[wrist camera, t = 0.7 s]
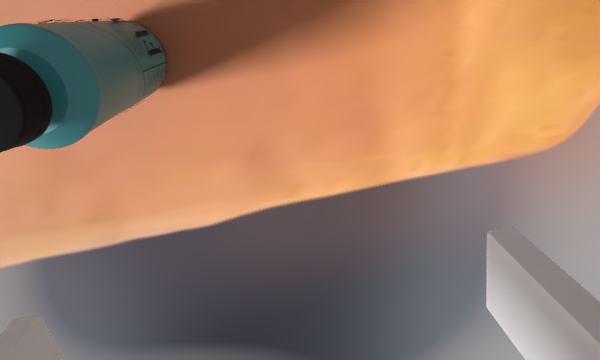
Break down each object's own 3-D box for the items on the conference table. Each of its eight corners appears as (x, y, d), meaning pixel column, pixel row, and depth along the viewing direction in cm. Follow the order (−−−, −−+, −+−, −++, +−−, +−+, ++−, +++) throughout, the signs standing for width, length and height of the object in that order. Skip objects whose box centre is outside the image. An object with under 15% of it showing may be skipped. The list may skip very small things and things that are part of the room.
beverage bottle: (187, 49, 34) (87, 86, 16) (150, 112, 36) (20, 212, 18) (116, 0, 33) (-91, -23, 14) (80, 69, 34) (-144, 129, 16)
